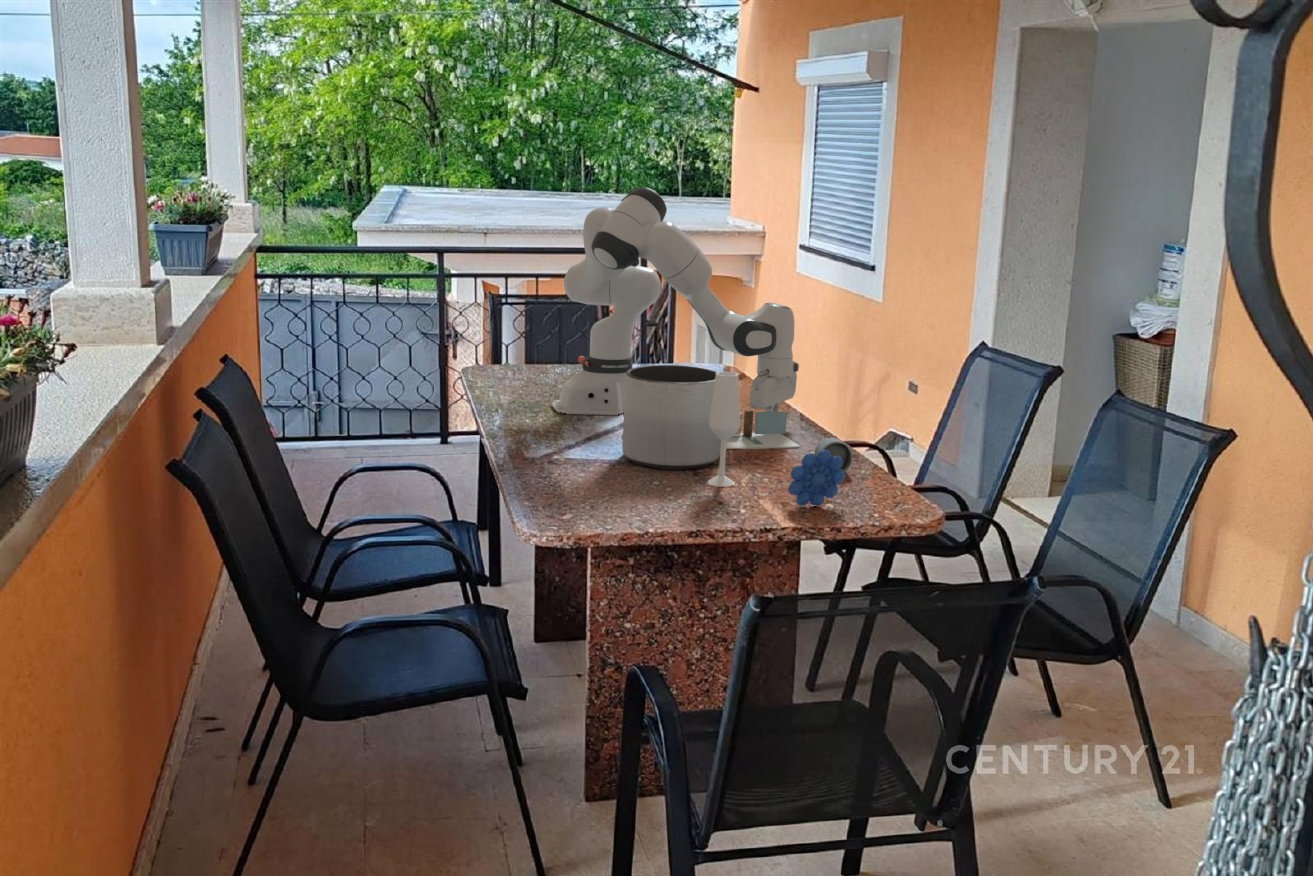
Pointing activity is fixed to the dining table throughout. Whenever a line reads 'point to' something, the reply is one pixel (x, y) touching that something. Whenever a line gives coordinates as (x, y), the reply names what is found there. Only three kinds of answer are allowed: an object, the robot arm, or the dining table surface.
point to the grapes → (816, 478)
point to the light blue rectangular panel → (770, 422)
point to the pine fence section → (746, 423)
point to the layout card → (760, 442)
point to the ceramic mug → (836, 451)
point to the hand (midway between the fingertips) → (771, 420)
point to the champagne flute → (724, 417)
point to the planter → (669, 417)
